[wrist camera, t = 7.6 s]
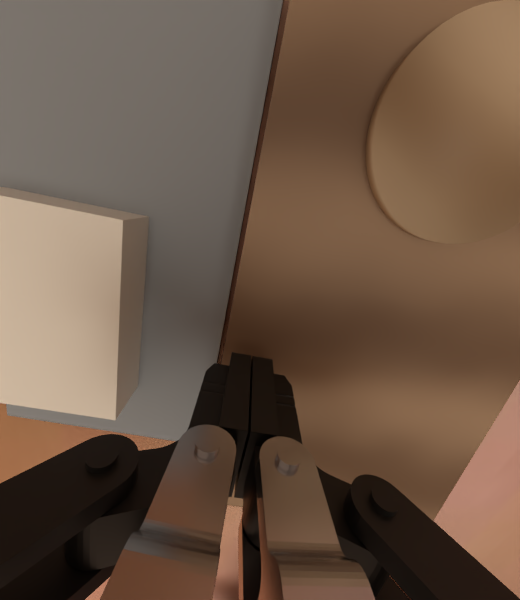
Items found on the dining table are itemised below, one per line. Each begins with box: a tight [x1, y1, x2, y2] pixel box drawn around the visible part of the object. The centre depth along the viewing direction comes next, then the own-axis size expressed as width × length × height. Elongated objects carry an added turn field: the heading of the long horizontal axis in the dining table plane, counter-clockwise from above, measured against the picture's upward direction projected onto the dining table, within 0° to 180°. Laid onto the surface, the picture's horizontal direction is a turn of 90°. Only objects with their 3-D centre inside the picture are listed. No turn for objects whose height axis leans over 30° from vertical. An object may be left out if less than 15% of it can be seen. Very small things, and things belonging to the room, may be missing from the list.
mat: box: [0, 0, 283, 441], centre depth 13 cm, size 21×11×1 cm, turn 168°
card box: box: [0, 187, 149, 420], centre depth 12 cm, size 9×6×2 cm, turn 169°
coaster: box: [366, 0, 520, 244], centre depth 8 cm, size 6×6×1 cm
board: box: [221, 0, 520, 521], centre depth 12 cm, size 21×12×4 cm, turn 168°
